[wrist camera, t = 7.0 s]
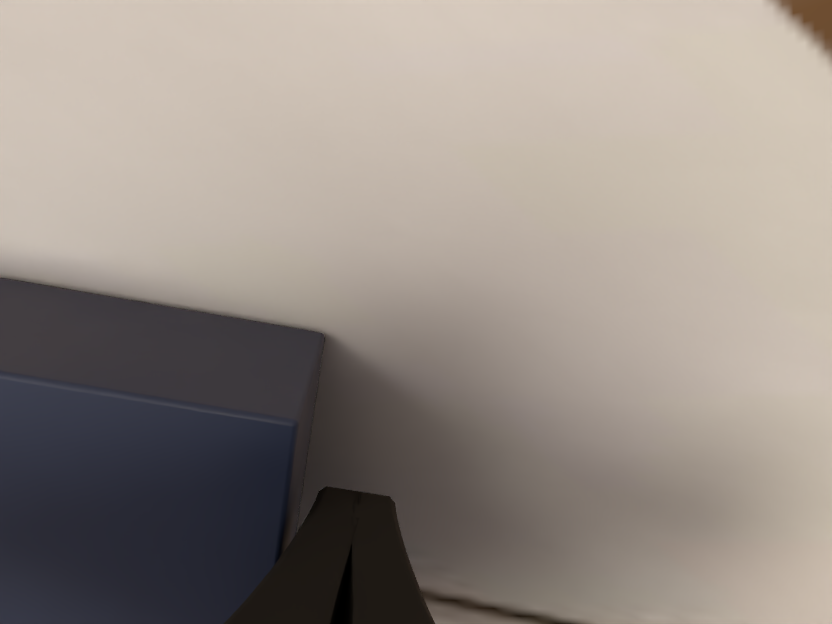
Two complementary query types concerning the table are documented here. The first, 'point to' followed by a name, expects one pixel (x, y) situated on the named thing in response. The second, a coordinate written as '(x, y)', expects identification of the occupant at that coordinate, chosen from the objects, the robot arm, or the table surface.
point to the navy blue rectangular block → (145, 456)
